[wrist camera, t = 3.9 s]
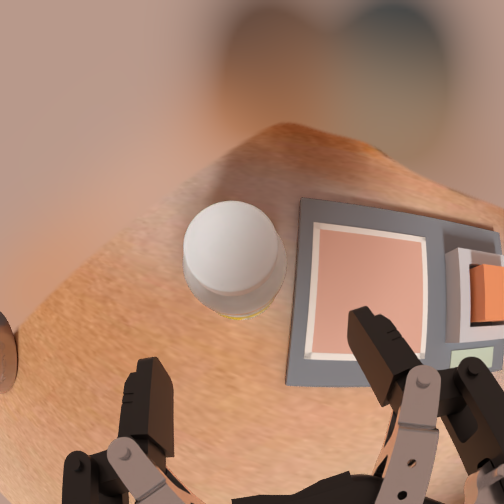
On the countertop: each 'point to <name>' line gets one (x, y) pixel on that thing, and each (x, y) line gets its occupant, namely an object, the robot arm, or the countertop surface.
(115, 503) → the robot arm
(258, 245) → the supplement bottle
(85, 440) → the countertop surface
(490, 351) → the grey button board
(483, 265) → the button
